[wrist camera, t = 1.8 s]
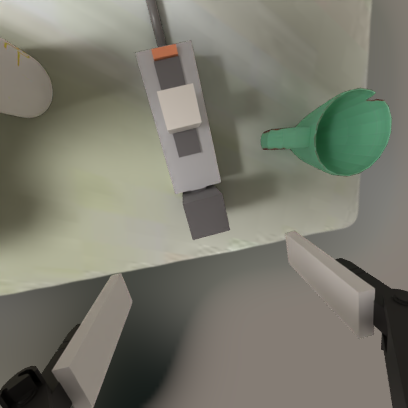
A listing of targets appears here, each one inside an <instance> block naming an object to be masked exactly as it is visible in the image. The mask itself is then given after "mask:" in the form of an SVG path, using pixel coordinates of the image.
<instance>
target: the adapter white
mask: <svg viewBox="0 0 408 408" xmlns="http://www.w3.org/2000/svg"><path fill="white" fill-rule="evenodd" d="M157 94H158V98H159V102H160V106H161V109H162V113H163V117H164V120H165V124H166V128H167V131H168V132H169V134H173V133H177V132H181V131H185V130H190V129H194V128H198V127H199V126H200V124H201V123H202V121H201V117H200V112H199V108H198V103H197V99H196V94H195V90H194V85H193V83H191V84H187V85H183V86H178V87H174V88H170V89H165V90H161V91H157Z"/></svg>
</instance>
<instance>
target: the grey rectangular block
mask: <svg viewBox="0 0 408 408" xmlns="http://www.w3.org/2000/svg"><path fill="white" fill-rule="evenodd" d="M183 206H184V210H185V213H186V217H187V221H188V224H189V228H190V231H191V235H192V239H193V240H195V239H199V238H202V237H206V236H210V235H214V234H217V233H221V232H225V231H229V230H230V227H229V223H228V218H227V213H226V209H225V204H224V199H223V195H222V193H221V192H220V191H219V190H218V189H217V188H216V187H215V186H214V185H209V186H205V187H201V188H197V189H193V190H190V191H186V192H183Z"/></svg>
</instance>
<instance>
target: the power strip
mask: <svg viewBox="0 0 408 408" xmlns="http://www.w3.org/2000/svg"><path fill="white" fill-rule="evenodd" d="M146 2H147V6H148V10H149V14H150V18H151V22H152V26H153V30H154V34H155V38H156V42H157V45H158V48H153V49H148V50H144V51H139V52H135V55H136V58H137V62H138V65H139V69H140V72H141V76H142V79H143V83H144V86H145V90H146V93H147V97H148V100H149V104H150V107H151V111H152V114H153V118H154V121H155V125H156V128H157V132H158V135H159V139H160V142H161V146H162V149H163V153H164V156H165V160H166V163H167V166H168V170H169V173H170V177H171V180H172V184H173V187H174V191H175V194H178V193H182V192H186V191H190V190H193V189H197V188H201V187H205V186H209V185H213V184H217V183H221V179H220V174H219V169H218V164H217V160H216V155H215V150H214V146H213V141H212V136H211V131H210V127H209V122H208V117H207V112H206V108H205V103H204V98H203V93H202V89H201V84H200V79H199V75H198V70H197V65H196V60H195V56H194V51H193V46H192V41H191V40H189V41H185V42H180V43H176V44H171V45H166V41H165V37H164V33H163V29H162V25H161V20H160V16H159V12H158V8H157V4H156V0H146ZM191 83H193V85H194V90H195V94H196V99H197V103H198V108H199V112H200V117H201V121H202V123H201V124H200V126H199V127H198V128H194V129H190V130H185V131H181V132H177V133H173V134H169V132H168V131H167V128H166V124H165V120H164V117H163V113H162V109H161V106H160V102H159V98H158V94H157V91H161V90H165V89H170V88H174V87H178V86H183V85H187V84H191Z"/></svg>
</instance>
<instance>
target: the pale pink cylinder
mask: <svg viewBox="0 0 408 408" xmlns="http://www.w3.org/2000/svg"><path fill="white" fill-rule="evenodd" d="M52 97H53V88H52V83H51V80H50V78H49V76H48V74H47V72H46V70H45V69H44V68H43V66H42V65H41V64H40V63H39V62H38V61H37V60H35V59H34V58H33V57H31V56H30V55H28V54H26V53H25V52H23V51H22V50H20V49H19V48H17V47H15V46H14V45H12V44H11V43H9V42H8V41H6V40H4V39H3V38H1V37H0V113H4V114H9V115H13V116H18V117H23V118H33V117H37V116H39V115H41V114H43V113H44V112H45V111H46V110H47V109H48V108H49V106H50V104H51V102H52Z"/></svg>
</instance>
